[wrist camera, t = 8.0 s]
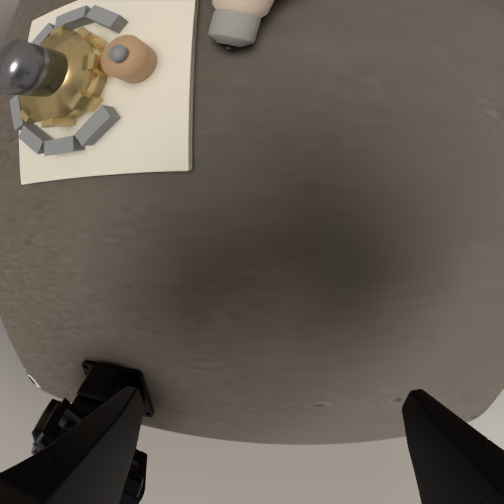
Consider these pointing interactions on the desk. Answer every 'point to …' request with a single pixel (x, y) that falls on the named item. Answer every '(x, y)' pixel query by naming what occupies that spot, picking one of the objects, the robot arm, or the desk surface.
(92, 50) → the planet gear
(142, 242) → the desk surface
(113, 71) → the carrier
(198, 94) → the desk surface
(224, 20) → the light bulb
